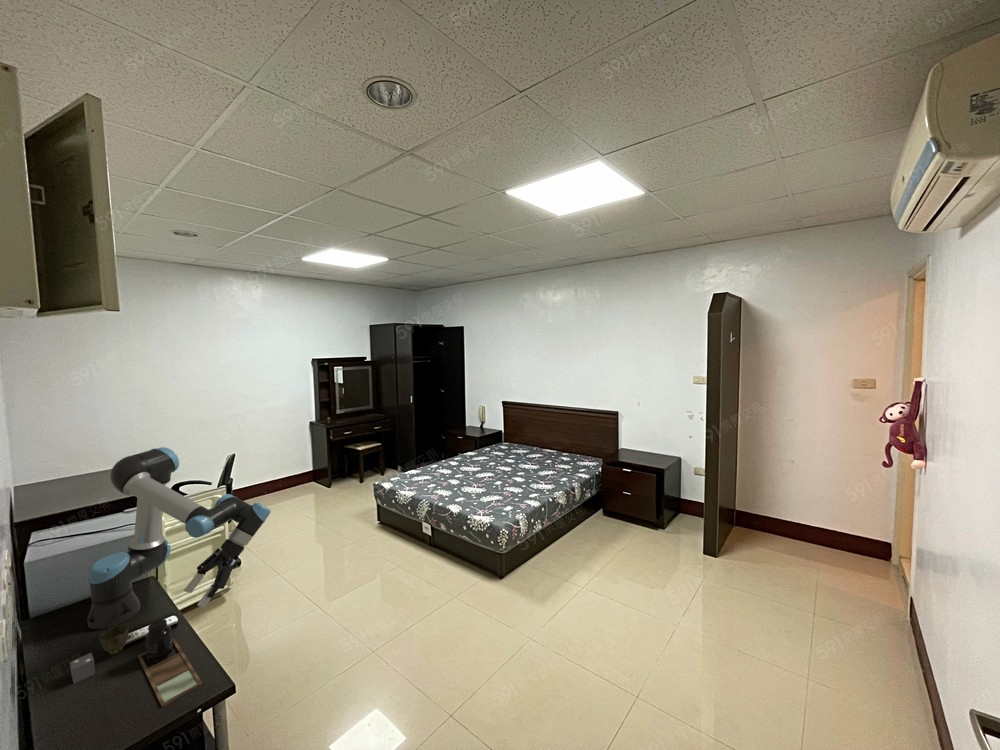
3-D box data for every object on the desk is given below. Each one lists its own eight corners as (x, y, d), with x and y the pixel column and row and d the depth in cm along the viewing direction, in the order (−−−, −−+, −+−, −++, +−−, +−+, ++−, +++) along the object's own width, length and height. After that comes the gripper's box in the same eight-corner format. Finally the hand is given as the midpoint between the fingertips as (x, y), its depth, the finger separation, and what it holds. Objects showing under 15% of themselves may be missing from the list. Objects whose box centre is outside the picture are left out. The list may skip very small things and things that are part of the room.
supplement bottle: (177, 651, 142) (174, 620, 141) (154, 666, 136) (151, 633, 135) (166, 645, 145) (163, 614, 144) (143, 659, 139) (140, 627, 138)
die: (71, 676, 133) (69, 661, 132) (92, 666, 137) (91, 652, 136) (73, 684, 130) (71, 669, 129) (95, 673, 134) (93, 659, 133)
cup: (112, 661, 138) (110, 640, 138) (95, 658, 140) (93, 636, 139) (136, 645, 146) (134, 624, 145) (119, 642, 147) (117, 621, 146)
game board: (137, 657, 140) (137, 655, 140) (174, 639, 148) (174, 638, 148) (161, 707, 121) (161, 705, 121) (202, 684, 129) (202, 682, 129)
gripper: (258, 555, 153) (216, 615, 143) (231, 536, 168) (190, 589, 158) (242, 548, 149) (197, 609, 138) (215, 529, 163) (172, 583, 153)
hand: (193, 598), depth 148 cm, fingers open, 13 cm apart
